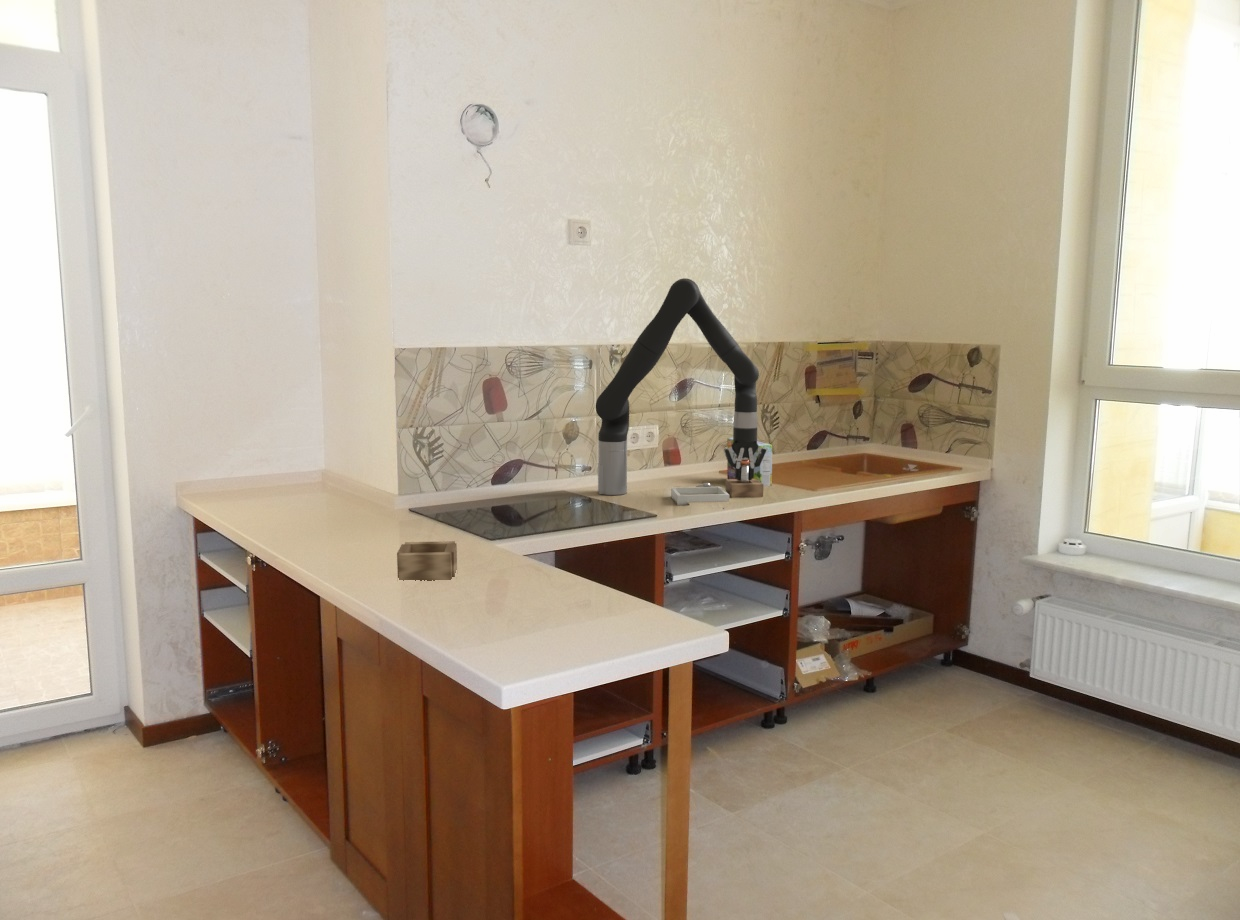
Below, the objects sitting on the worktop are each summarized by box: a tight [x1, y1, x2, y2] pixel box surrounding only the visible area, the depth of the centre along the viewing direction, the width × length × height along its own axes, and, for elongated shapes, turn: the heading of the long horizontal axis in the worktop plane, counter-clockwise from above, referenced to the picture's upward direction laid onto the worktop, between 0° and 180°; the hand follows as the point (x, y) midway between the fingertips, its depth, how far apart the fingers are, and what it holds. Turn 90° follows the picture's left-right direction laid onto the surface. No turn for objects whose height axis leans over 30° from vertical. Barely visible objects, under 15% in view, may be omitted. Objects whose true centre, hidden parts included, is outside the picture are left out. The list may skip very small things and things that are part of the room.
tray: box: [670, 486, 730, 506], centre depth 300 cm, size 16×14×3 cm
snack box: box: [726, 436, 773, 487], centre depth 329 cm, size 21×6×15 cm, turn 25°
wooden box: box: [724, 478, 764, 499], centre depth 305 cm, size 10×10×5 cm
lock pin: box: [739, 459, 750, 483], centre depth 305 cm, size 4×4×11 cm
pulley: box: [695, 482, 718, 487], centre depth 310 cm, size 7×7×4 cm
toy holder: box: [396, 540, 458, 581], centre depth 210 cm, size 12×12×7 cm
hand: (744, 479), depth 305 cm, fingers closed on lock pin, 3 cm apart
